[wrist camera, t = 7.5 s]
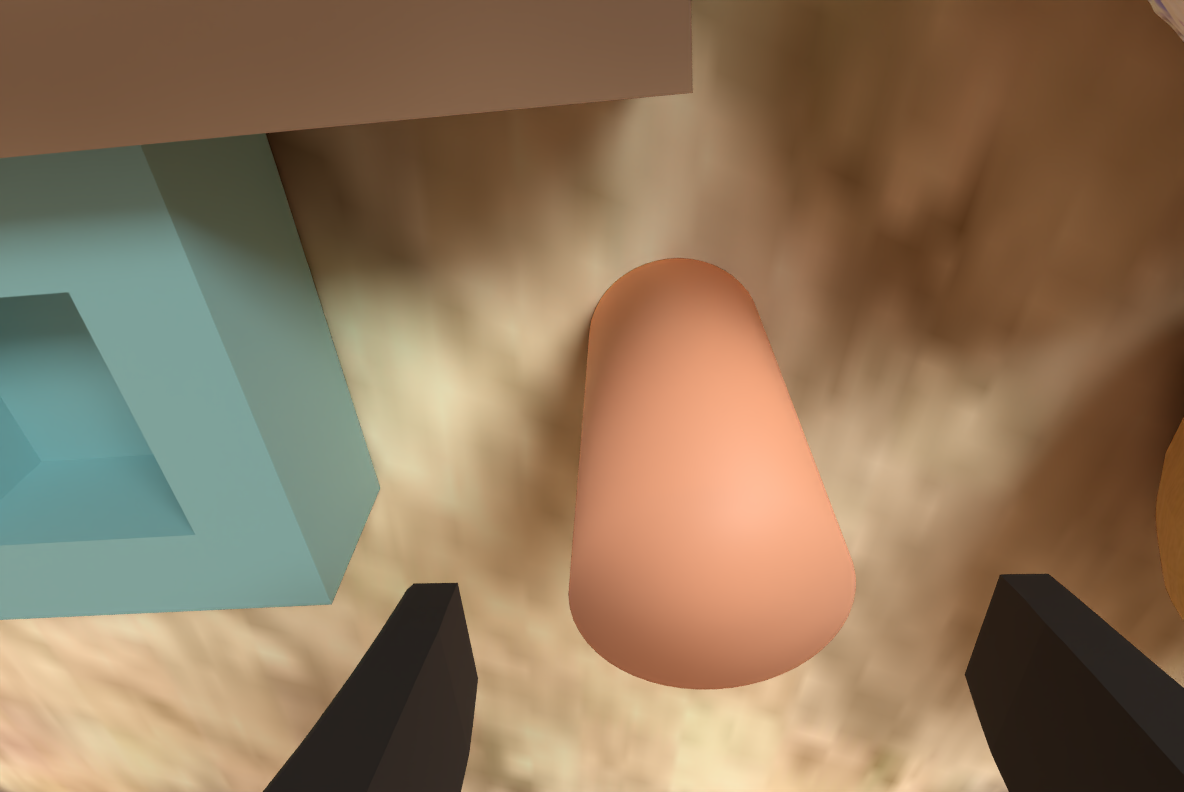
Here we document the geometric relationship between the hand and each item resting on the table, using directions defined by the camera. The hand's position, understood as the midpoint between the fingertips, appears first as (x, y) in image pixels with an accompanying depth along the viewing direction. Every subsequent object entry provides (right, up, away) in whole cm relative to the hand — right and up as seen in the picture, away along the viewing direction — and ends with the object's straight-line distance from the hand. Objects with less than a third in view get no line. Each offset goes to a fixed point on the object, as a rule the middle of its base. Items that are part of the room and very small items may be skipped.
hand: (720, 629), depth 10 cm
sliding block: (-13, +5, +7) cm, 15 cm away
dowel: (0, +5, +7) cm, 8 cm away
